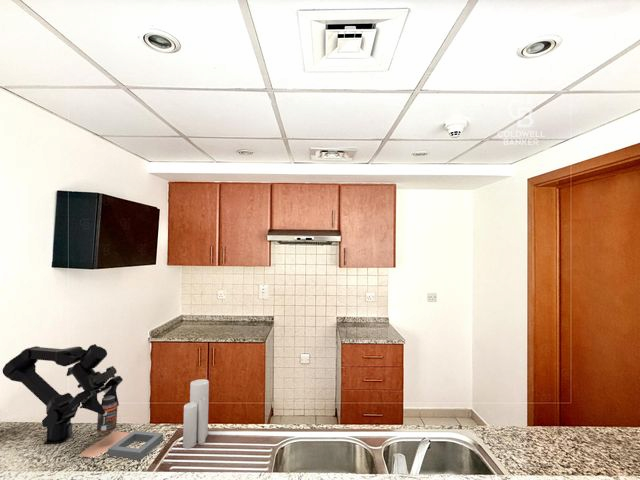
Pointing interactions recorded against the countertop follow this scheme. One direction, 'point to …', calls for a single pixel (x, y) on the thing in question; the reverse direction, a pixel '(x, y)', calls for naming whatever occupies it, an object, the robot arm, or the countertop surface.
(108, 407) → the supplement bottle
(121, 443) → the filter housing collar
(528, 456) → the countertop surface
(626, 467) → the countertop surface
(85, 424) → the countertop surface
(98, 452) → the terracotta mat
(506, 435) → the countertop surface
